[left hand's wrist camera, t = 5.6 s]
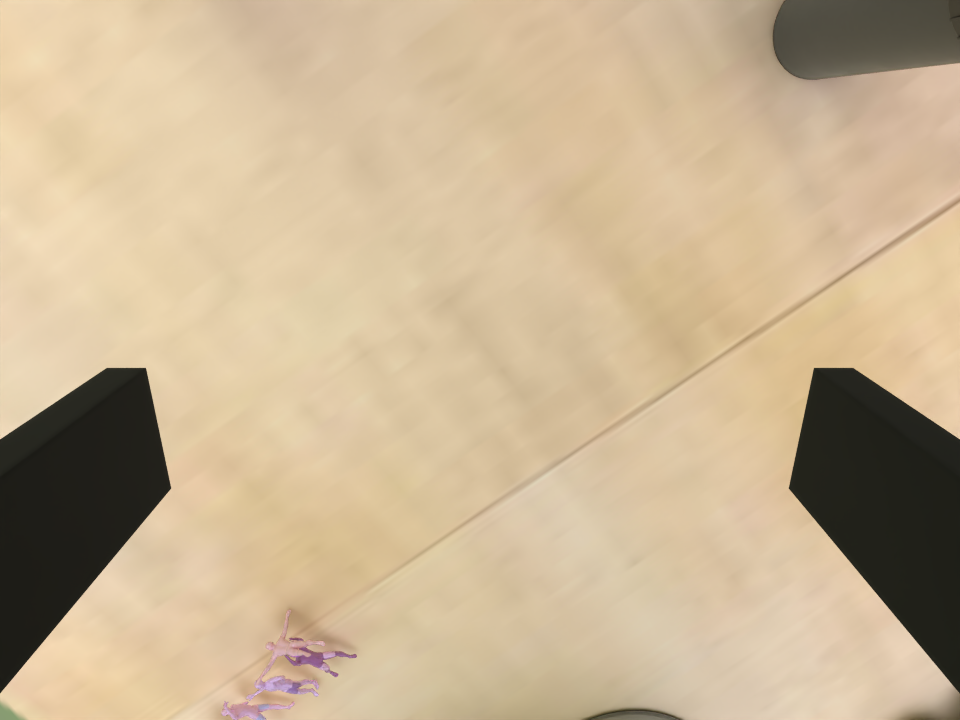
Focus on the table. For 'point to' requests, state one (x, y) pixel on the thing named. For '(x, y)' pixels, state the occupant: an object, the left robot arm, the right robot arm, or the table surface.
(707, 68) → the table surface
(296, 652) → the people figure
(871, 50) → the dark grey cylinder
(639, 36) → the table surface
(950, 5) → the lid
